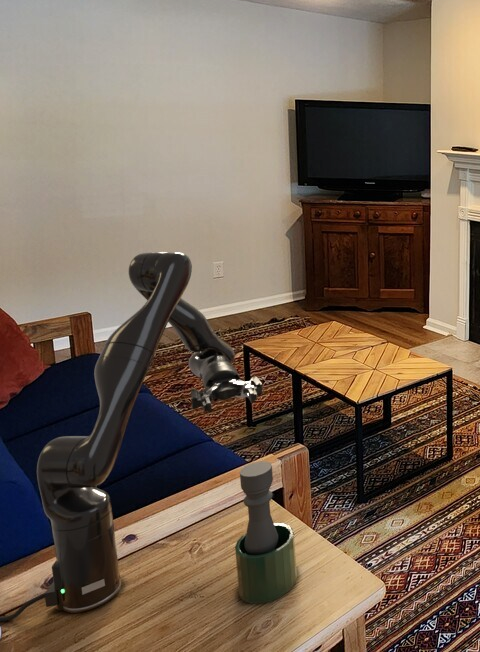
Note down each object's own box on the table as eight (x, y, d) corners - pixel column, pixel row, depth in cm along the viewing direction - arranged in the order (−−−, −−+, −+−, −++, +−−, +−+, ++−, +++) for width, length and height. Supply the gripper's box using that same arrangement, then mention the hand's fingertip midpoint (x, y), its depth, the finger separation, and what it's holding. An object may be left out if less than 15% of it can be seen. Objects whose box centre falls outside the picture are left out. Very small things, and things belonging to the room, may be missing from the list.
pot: (233, 608, 119) (229, 562, 117) (245, 571, 129) (241, 528, 127) (292, 597, 122) (289, 552, 120) (299, 562, 132) (296, 519, 130)
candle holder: (286, 571, 128) (278, 460, 124) (274, 593, 122) (265, 477, 118) (255, 572, 128) (246, 460, 124) (242, 594, 122) (232, 477, 118)
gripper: (185, 371, 144) (192, 395, 131) (252, 358, 152) (265, 379, 139) (188, 401, 145) (195, 428, 132) (254, 387, 153) (268, 411, 140)
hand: (231, 403), depth 135 cm, fingers open, 8 cm apart
